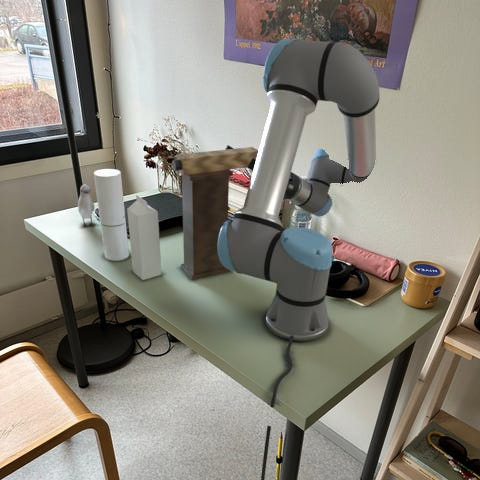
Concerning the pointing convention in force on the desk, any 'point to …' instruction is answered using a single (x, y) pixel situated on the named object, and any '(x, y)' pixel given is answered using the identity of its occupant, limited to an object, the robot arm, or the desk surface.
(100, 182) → the cylindrical container
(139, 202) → the milk
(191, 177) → the wooden pedestal column
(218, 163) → the wooden plank
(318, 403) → the desk surface
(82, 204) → the bird
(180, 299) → the desk surface
